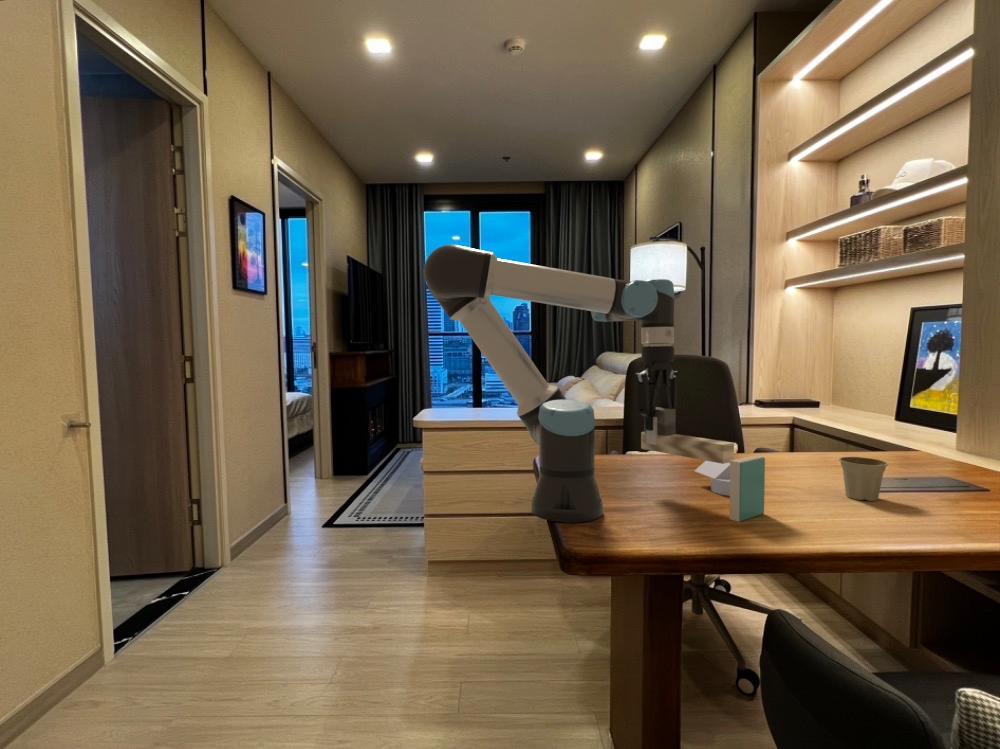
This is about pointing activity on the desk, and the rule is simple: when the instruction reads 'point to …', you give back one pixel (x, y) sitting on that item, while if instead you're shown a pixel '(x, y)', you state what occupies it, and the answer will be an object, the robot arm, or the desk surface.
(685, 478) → the desk surface
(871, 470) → the flower pot
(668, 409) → the bar
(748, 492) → the tile
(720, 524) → the desk surface
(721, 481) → the wedge on round base
